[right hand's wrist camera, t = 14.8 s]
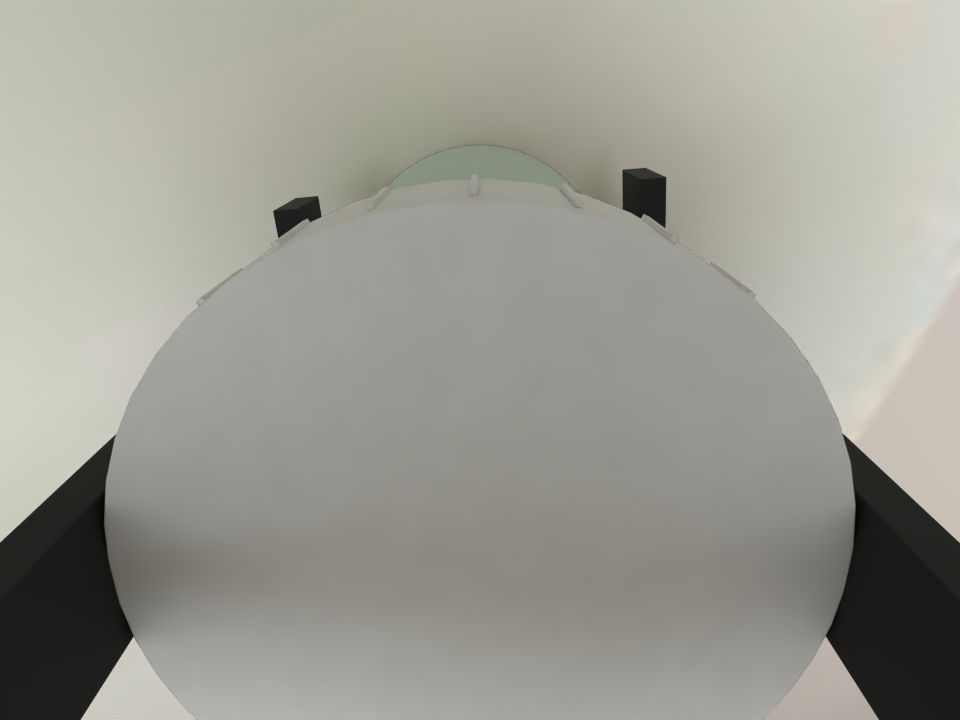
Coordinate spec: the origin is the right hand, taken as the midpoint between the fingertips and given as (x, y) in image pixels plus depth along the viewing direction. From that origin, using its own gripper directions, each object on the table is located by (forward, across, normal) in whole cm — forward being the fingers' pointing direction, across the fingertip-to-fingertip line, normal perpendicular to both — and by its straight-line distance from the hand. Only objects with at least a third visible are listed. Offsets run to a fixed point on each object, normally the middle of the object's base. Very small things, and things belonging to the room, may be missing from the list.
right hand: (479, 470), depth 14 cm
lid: (-3, 0, 0) cm, 3 cm away
